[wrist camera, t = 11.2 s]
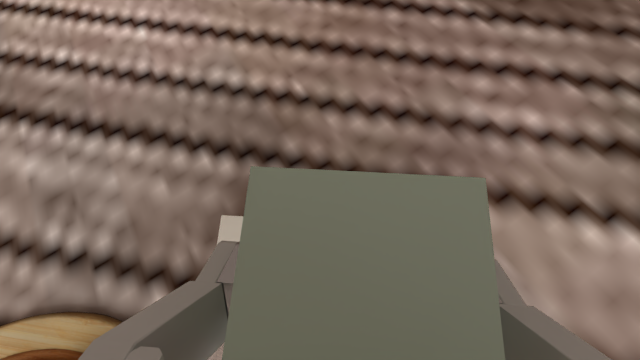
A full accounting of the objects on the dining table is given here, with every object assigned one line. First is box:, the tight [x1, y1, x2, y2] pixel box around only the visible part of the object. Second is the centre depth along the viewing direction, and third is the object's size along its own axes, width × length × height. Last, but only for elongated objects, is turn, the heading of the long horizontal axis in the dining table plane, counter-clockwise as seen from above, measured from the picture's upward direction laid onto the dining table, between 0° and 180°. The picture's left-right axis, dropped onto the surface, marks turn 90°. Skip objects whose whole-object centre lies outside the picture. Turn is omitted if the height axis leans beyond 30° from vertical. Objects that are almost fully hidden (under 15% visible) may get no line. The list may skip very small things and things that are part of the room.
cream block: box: [217, 215, 243, 244], centre depth 27 cm, size 4×4×4 cm
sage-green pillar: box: [222, 166, 505, 360], centre depth 9 cm, size 4×4×8 cm
